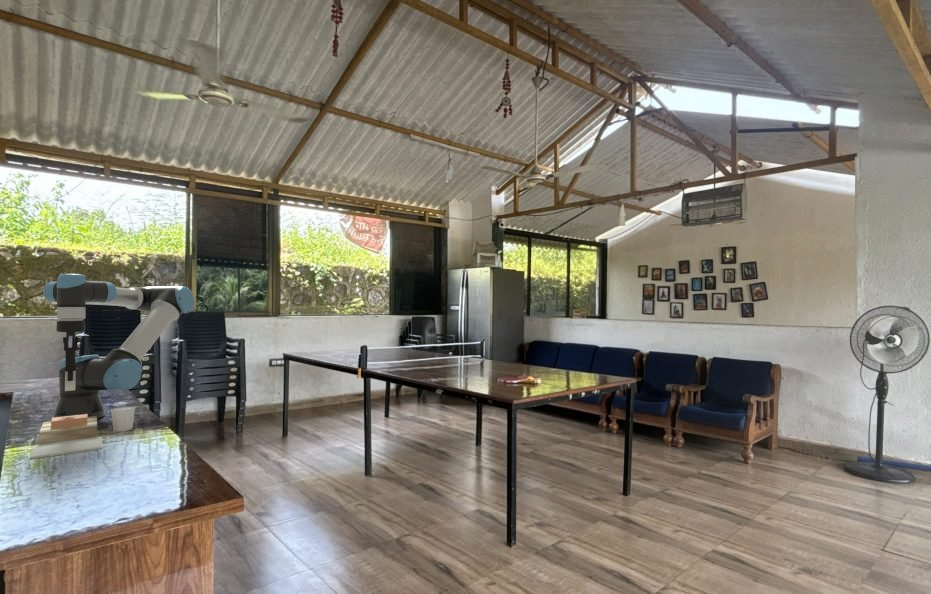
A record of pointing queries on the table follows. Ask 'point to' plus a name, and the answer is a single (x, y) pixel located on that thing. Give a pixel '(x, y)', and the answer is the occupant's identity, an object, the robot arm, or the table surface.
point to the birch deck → (68, 432)
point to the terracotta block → (69, 421)
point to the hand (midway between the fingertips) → (70, 390)
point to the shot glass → (122, 418)
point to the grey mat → (66, 447)
